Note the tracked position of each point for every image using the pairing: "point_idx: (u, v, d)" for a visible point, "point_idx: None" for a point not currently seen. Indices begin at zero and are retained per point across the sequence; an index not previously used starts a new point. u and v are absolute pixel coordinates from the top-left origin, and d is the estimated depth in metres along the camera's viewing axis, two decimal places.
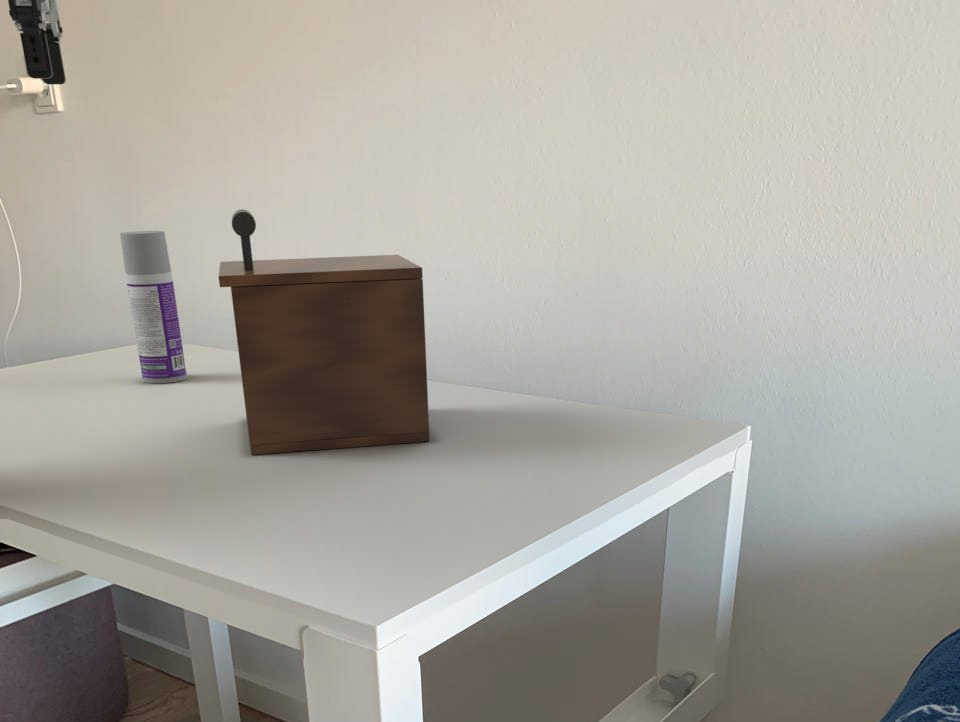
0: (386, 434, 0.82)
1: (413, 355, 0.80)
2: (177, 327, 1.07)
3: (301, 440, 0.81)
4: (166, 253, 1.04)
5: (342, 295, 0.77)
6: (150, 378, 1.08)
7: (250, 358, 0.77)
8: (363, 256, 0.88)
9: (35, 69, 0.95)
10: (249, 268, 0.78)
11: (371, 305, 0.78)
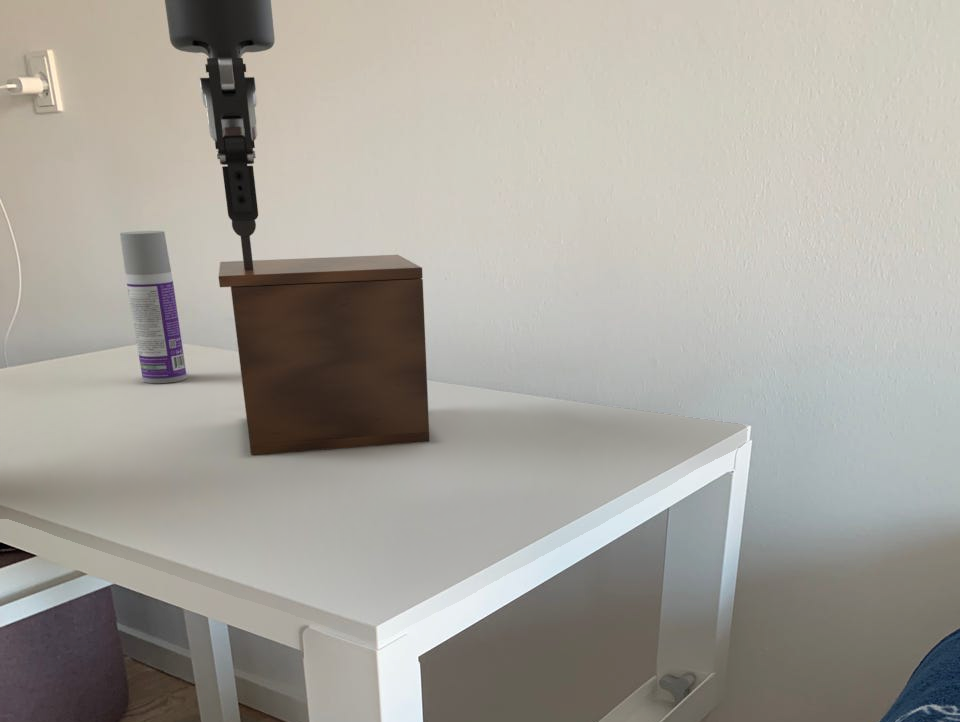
0: (386, 434, 0.82)
1: (413, 355, 0.80)
2: (177, 327, 1.07)
3: (301, 440, 0.81)
4: (166, 253, 1.04)
5: (342, 295, 0.77)
6: (150, 378, 1.08)
7: (250, 358, 0.77)
8: (363, 256, 0.88)
9: (239, 211, 0.74)
10: (249, 268, 0.78)
11: (371, 305, 0.78)
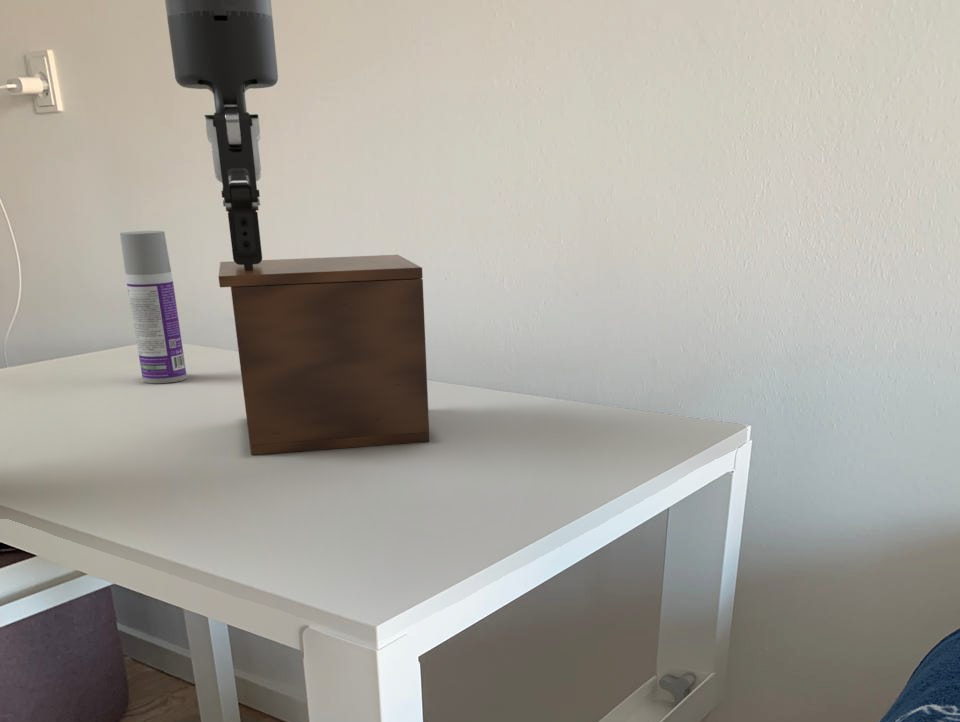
0: (386, 434, 0.82)
1: (413, 355, 0.80)
2: (177, 327, 1.07)
3: (301, 440, 0.81)
4: (166, 253, 1.04)
5: (342, 295, 0.77)
6: (150, 378, 1.08)
7: (250, 358, 0.77)
8: (363, 256, 0.88)
9: (244, 255, 0.77)
10: (249, 268, 0.78)
11: (371, 305, 0.78)
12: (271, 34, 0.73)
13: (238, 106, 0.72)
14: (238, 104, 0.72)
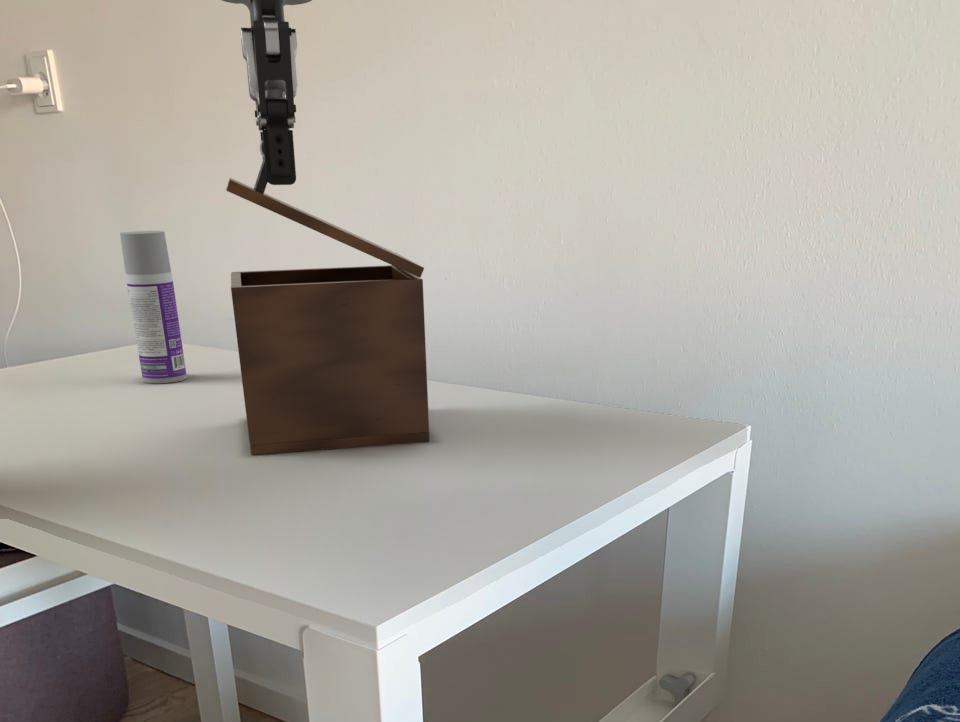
0: (386, 434, 0.82)
1: (413, 355, 0.80)
2: (177, 327, 1.07)
3: (301, 440, 0.81)
4: (166, 253, 1.04)
5: (342, 295, 0.77)
6: (150, 378, 1.08)
7: (250, 358, 0.77)
8: None
9: (278, 175, 0.75)
10: (260, 191, 0.76)
11: (371, 305, 0.78)
12: None
13: (276, 16, 0.70)
14: (276, 14, 0.70)
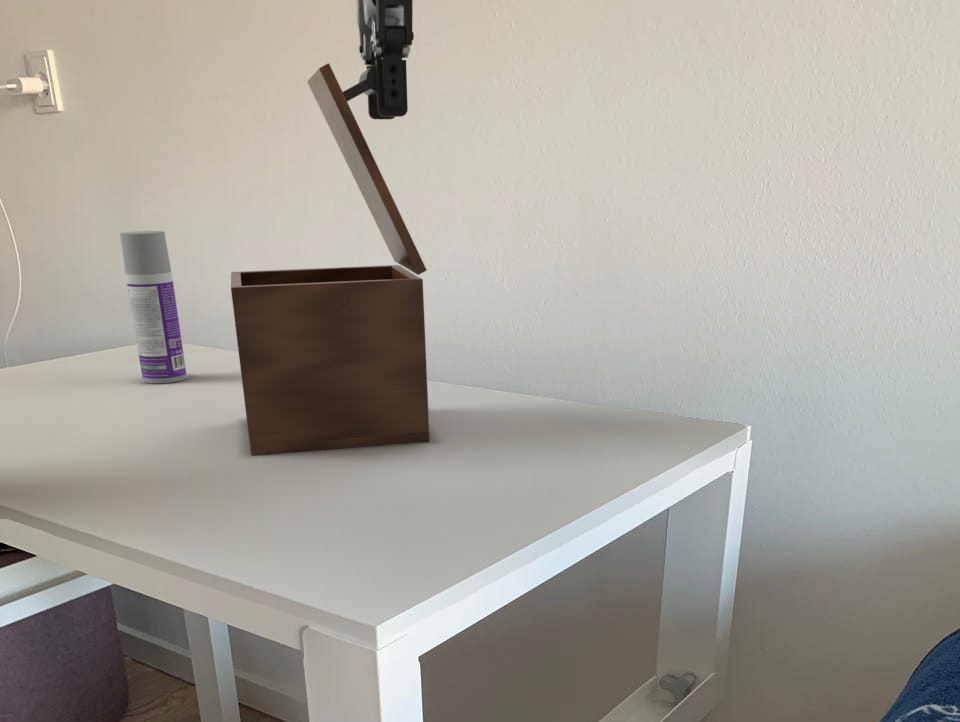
0: (386, 434, 0.82)
1: (413, 355, 0.80)
2: (177, 327, 1.07)
3: (301, 440, 0.81)
4: (166, 253, 1.04)
5: (342, 295, 0.77)
6: (150, 378, 1.08)
7: (250, 358, 0.77)
8: None
9: (390, 105, 0.75)
10: None
11: (371, 305, 0.78)
12: None
13: None
14: None
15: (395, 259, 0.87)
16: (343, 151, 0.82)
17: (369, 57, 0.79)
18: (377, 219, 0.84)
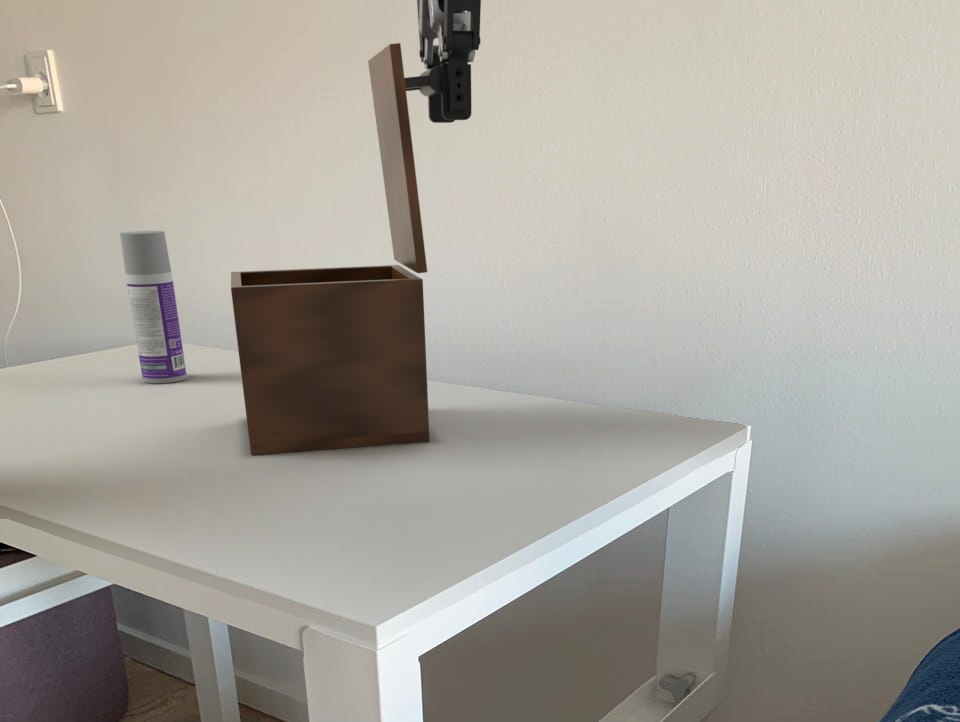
0: (386, 434, 0.82)
1: (413, 355, 0.80)
2: (177, 327, 1.07)
3: (301, 440, 0.81)
4: (166, 253, 1.04)
5: (342, 295, 0.77)
6: (150, 378, 1.08)
7: (250, 358, 0.77)
8: None
9: (455, 109, 0.76)
10: None
11: (371, 305, 0.78)
12: None
13: None
14: None
15: (396, 257, 0.87)
16: (381, 137, 0.83)
17: (431, 61, 0.80)
18: (392, 212, 0.84)
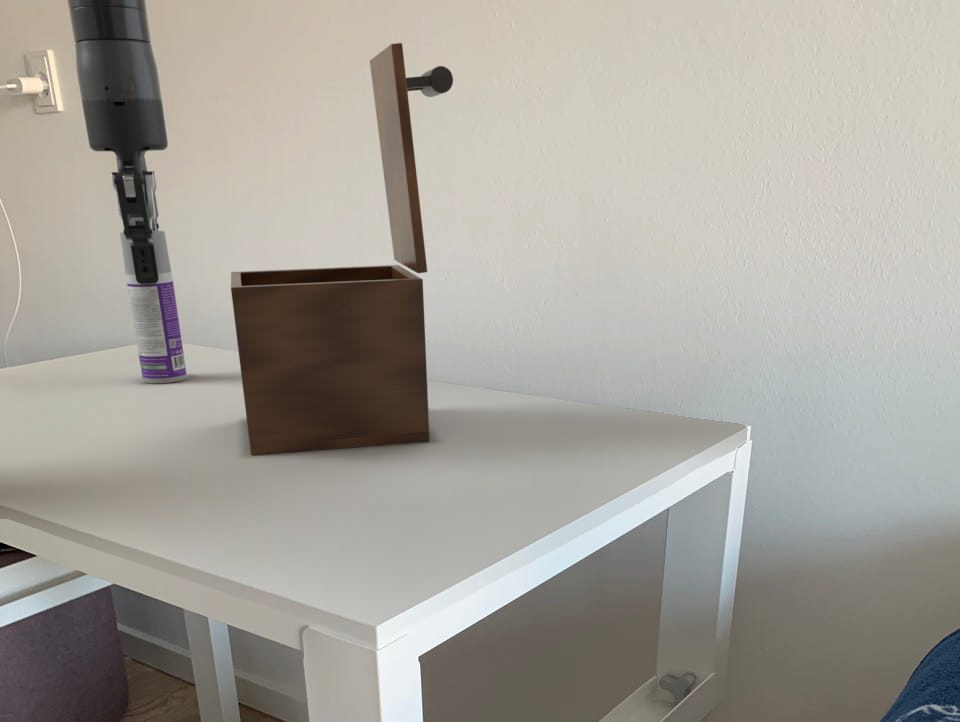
0: (386, 434, 0.82)
1: (413, 355, 0.80)
2: (177, 327, 1.07)
3: (301, 440, 0.81)
4: (166, 253, 1.04)
5: (342, 295, 0.77)
6: (150, 378, 1.08)
7: (250, 358, 0.77)
8: None
9: (144, 277, 1.02)
10: None
11: (371, 305, 0.78)
12: (160, 113, 0.98)
13: (134, 167, 0.97)
14: (134, 166, 0.97)
15: (396, 257, 0.87)
16: (382, 137, 0.83)
17: None
18: (392, 212, 0.84)
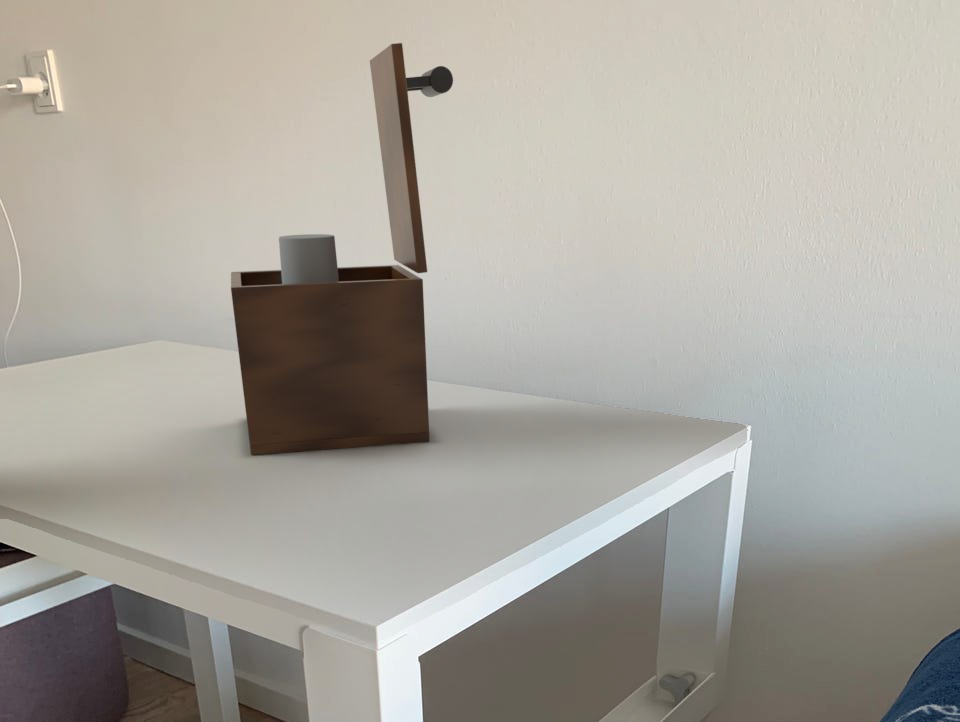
0: (386, 434, 0.82)
1: (413, 355, 0.80)
2: None
3: (301, 440, 0.81)
4: (336, 263, 0.81)
5: (342, 295, 0.77)
6: None
7: (250, 358, 0.77)
8: None
9: None
10: None
11: (371, 305, 0.78)
12: None
13: None
14: None
15: (396, 257, 0.87)
16: (382, 137, 0.83)
17: None
18: (392, 212, 0.84)
